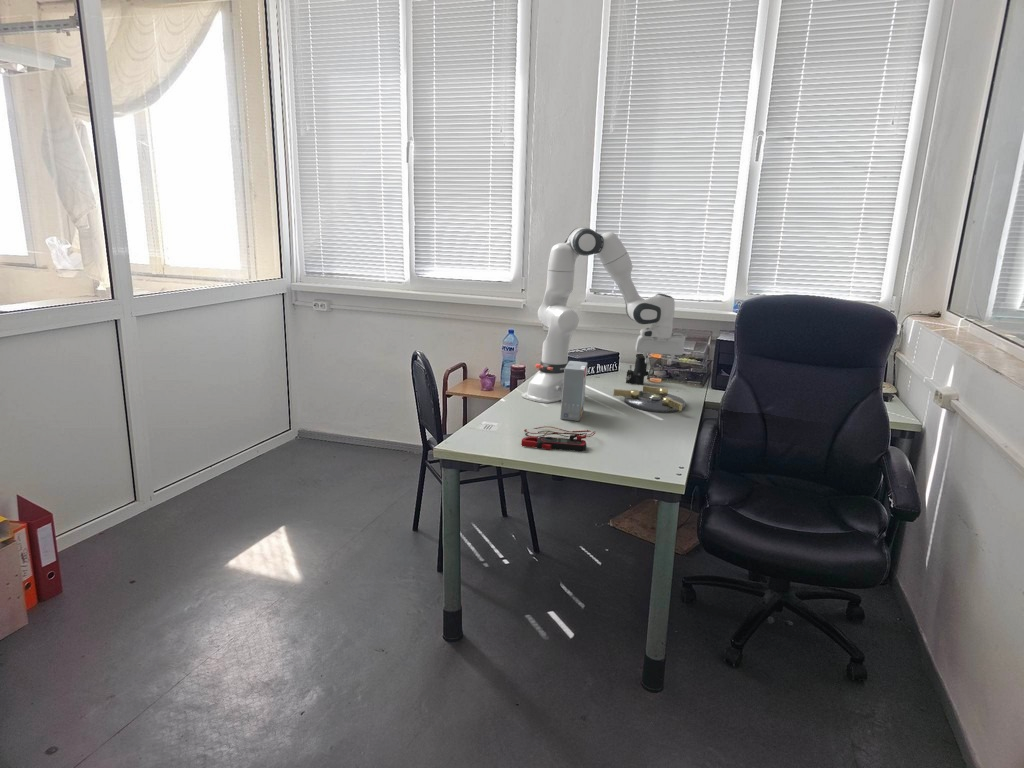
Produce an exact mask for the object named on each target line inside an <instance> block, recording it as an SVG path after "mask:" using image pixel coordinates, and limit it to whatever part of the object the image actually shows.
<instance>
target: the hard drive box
mask: <svg viewBox="0 0 1024 768" xmlns="http://www.w3.org/2000/svg"><path fill="white" fill-rule="evenodd" d="M567 362H568V364H567V365H566V367H565V369H564V380H563V392H562V400H561V404H560V415H559V416H560V417H559V419H560V420H566V421H567V420H569V421H574V422H575V421H578V422H579V421H581V418H582V415H583V412H584V405H585V396H586V395H585V394H586V384H587V375H588V374H587V373H588V372H587V371H588V362H584V361H577V360H576V361H575V360H568V361H567Z"/></svg>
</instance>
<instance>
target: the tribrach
mask: <svg viewBox="0 0 1024 768" xmlns="http://www.w3.org/2000/svg"><path fill="white" fill-rule="evenodd" d="M638 391H639V398H632V397H624V403H625V404H626V405H627V406H628V407H631V408H634V409H637V410H639V411H644V412H651V413H660V414H661V413H662V414H664V413H665V414H668V413H669V414H671V413H679V412H680V411H679V410H677V409H674V408H672V407H670V406H668V405H663V397H670V398H672V400H675V401H677V402H679V403H681V404H683V405H682V410H681V411H683V410H685V407H686V401H685V400H684V399H683V398H682V397H679V396H677V395H674V394H670V393H668V395H667V396H662V395H659V394H653V393H646V392H643V390H638Z"/></svg>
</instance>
